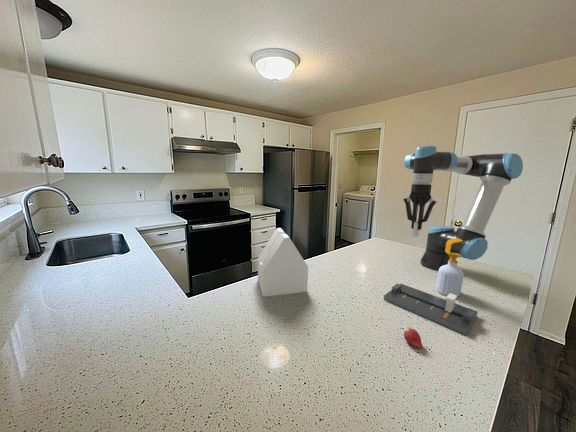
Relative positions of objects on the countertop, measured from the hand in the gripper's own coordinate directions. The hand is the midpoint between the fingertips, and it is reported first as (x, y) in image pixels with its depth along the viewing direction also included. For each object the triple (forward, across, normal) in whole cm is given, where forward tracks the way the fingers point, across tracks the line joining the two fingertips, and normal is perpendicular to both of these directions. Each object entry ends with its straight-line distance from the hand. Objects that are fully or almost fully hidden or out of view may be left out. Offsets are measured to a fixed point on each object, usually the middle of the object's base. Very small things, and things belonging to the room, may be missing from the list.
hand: (415, 236), depth 106 cm
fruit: (+23, +15, -40) cm, 49 cm away
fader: (+21, +19, -15) cm, 32 cm away
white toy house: (+23, -39, -46) cm, 65 cm away
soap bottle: (+24, +14, +6) cm, 28 cm away
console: (+24, +12, -15) cm, 30 cm away
